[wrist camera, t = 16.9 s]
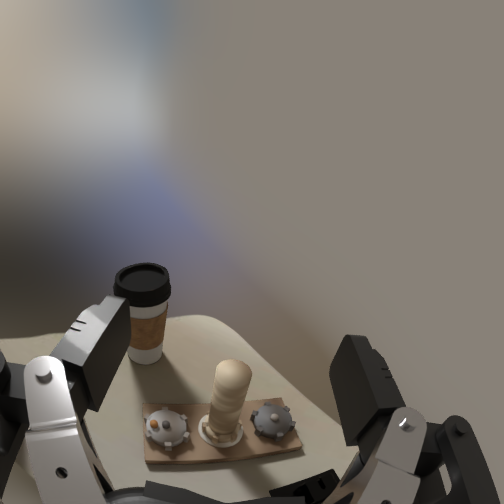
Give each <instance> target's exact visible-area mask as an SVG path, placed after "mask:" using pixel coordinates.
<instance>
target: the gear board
mask: <svg viewBox="0 0 504 504" xmlns="http://www.w3.org/2000/svg"><path fill="white" fill-rule="evenodd" d="M210 405H211V404H148V403H143V433H144V454H145V462H146V464H196V463H213V462H225V461H235V460H243V459H250V458H257V457H264V456H270V455H275V454H280V453H286V452H290V451H295V450H299V449H300V448H301V447H302V444H301V442H300V440H299V437H298V435H297V433H296V430H295V428H294V427H295V423H296V422H295V421H292V417H291V415H290V413H289V411H290V409H289V408H288V407H287V406H285V405H284V403H283V400H282V398H273V399H264V400H255V401H244V404H243V407H242V411H241V414H240V417H239V420H241V421H242V426H241V429H240V430H239V431H238V434H237V435H238V436H237V439H236V441H235V442H233V443H231V442H227V443H218V444H215V443H212V440H211V439H210V438H208V437H207V435H206V434H205V432H202V422H205V419H206V417H207V413H208V411H210Z"/></svg>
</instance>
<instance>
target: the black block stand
mask: <svg viewBox="0 0 504 504" xmlns="http://www.w3.org/2000/svg"><path fill="white" fill-rule="evenodd" d="M339 482H340V479H339V477H338V476H337V474H336V473H335V471H334V469H330V470H328V471H325V472H323V473H320V474H318V475H315V476H313V477H310V478H307V479H304V480H301V481H299V482H296V483H293V484H289V485H286V486H283V487H280V488H276V489H273V490H270V491H269V493H270V495H271V497H301V496H305V504H322V503H323V502H324V501H325V500H326V499H327V498H328V497H329V496H330V495H331V493H332V492H333V491H334V490H335V488H336V487H337V485H338V483H339Z"/></svg>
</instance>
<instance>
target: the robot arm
mask: <svg viewBox="0 0 504 504" xmlns="http://www.w3.org/2000/svg"><path fill="white" fill-rule="evenodd" d="M130 341H131V319H130V303H129V300H128V299H126V298H122V297H118V296H114V295H110V294H109V295H107V297H106V298H105V299H104V300H103V302H102V303H101V304H100V306H98V305H92V306H91V307H89V308H87V309H86V310H84V311H83V312H82V313H81V314H80V316H79V317H78V318H77V319H76V322H74V323H73V325H72V326H71V328H70V329H69V330H68V331H67V332H66V334H65V335H64V336H63V338H62V339H61V340H60V342H59V343H58V344H57V346H56V347H55V348H54V350H53V351H52V353H51V354H50V355H49V356H40V357H36V358H34V359H32V360H31V361H30V362H29V363H28V364H27V365H22V364H15V363H9V362H6V359H5V357H4V355H3V353H2V352H1V349H0V504H3V502H2V500H1V499H2V496H3V492H4V489H5V486H6V483H7V480H8V477H9V474H10V472H11V469H12V466H13V464H14V461H15V459H16V456H17V454H18V451H19V449H20V446H21V444H22V441H23V439H24V437H25V439H26V445H27V449H28V454H29V458H30V462H31V466H32V470H33V474H34V477H35V481H36V484H37V487H38V490H39V494H40V496H41V499H42V502H43V504H305V496H301V497H265V498H260V499H254V500H248V501H241V502H234V503H223V502H220V501H217V500H214V499H211V498H208V497H205V496H202V495H200V494H197V493H194V492H192V491H189V490H187V489H183V488H178V487H173V486H168V485H164V484H159V483H155V482H151V481H147V480H146V484H145V487H130V488H123V489H119V490H115V489H114V487H113V485H112V483H111V481H110V479H109V477H108V475H107V473H106V471H105V469H104V468H103V466H102V463H101V461H100V459H99V456H98V454H97V452H96V449H95V446H94V444H93V441H92V438H91V436H90V433H89V430H88V427H87V424H86V421H85V418H84V415H85V413H86V411H87V409H90V410H93V411H95V412H98V411H99V408H100V406H101V404H102V402H103V399H104V397H105V395H106V393H107V391H108V389H109V386H110V384H111V382H112V380H113V378H114V376H115V374H116V372H117V370H118V367H119V365H120V363H121V361H122V359H123V357H124V355H125V353H126V351H127V349H128V347H129V344H130ZM388 369H389V368H388V366H387V364H386V362H385V360H384V358H383V357H382V356H381V355H380V354H379V353H378V352H377V351H376V350H375V349H372V347H371V345H370V343H369V341H368V339H367V338H366V336H360V335H345V337H344V338H343V340H342V342H341V344H340V346H339V349H338V351H337V353H336V355H335V357H334V359H333V361H332V363H331V366H330V371H329V376H330V381H331V385H332V389H333V393H334V396H335V400H336V404H337V408H338V412H339V417H340V420H341V425H342V429H343V433H344V437H345V442H346V446H357V445H358V447H359V451H358V452H357V453H356V455H355V457H354V458H353V460H352V462H351V464H350V465H349V467H348V469H347V470H346V472H345V474H344V475H343V477H342V479H341V480H340V482H339V483H338V485H337V487H336V488H335V490H334V491H333V492H332V493H331V495H330V496H329V497H328V498H327V499H326V500H325V501H324V502H323V503H322V504H500V501H499V498H498V494H497V491H496V488H495V485H494V482H493V480H492V477H491V474H490V471H489V469H488V466H487V463H486V461H485V458H484V456H483V453H482V451H481V449H480V446H479V444H478V442H477V439H476V437H475V434H474V432H473V430H472V428H471V426H470V424H469V423H468V422H467V420H465V419H464V418H462V417H460V416H456V415H454V416H450V417H449V418H447V420H446V421H445V422H444V423H443V424H435V423H429V422H426V421H425V419H424V417H423V416H422V415H421V413H419V412H418V411H417V410H415V409H413V408H409V407H406V405H405V403H404V401H403V398H402V396H401V394H400V392H399V389H398V387H397V385H396V383H395V381H394V379H393V378H392V374H391V372H390V370H388ZM29 426H30V430H28V428H29ZM444 464H446V467H447V471H448V474H449V477H450V480H451V484H452V488H451V491H450V493H449V494H448V495H446V491H445V488H444V485H443V481H442V478H441V474H440V471H439V468H440V467H441V466H442V465H444Z"/></svg>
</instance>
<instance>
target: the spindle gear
mask: <svg viewBox="0 0 504 504" xmlns="http://www.w3.org/2000/svg"><path fill="white" fill-rule="evenodd" d="M251 377H252V371H251V369H250V367H249V366H248V365H247V364H245V363H244V362H242V361H239V360H233V359H230V360H224V361H222V362H221V363H219V364H218V366H217V368H216V374H215V380H214V386H213V393H212V399H211V405H210V411H208V413H207V417H206V419H205V422H202V432H205V434H206V435H207V437H208V438H210V439H211V440H212V443H215V444H218V443H227V442H231V443H233V442H235V441H236V439H237V436H238V435H237V434H238V431H239V430H240V429H241V426H242V421H241V420H239V417H240V414H241V411H242V407H243V404H244V401H245V397H246V394H247V391H248V387H249V384H250V381H251Z"/></svg>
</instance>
